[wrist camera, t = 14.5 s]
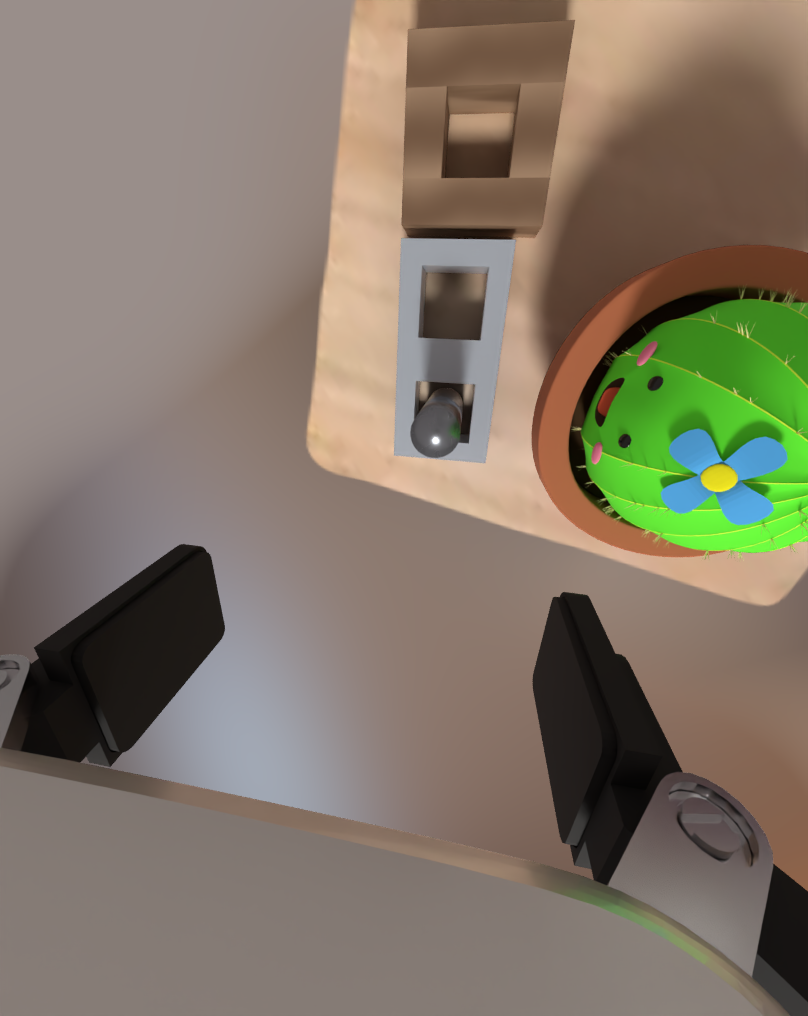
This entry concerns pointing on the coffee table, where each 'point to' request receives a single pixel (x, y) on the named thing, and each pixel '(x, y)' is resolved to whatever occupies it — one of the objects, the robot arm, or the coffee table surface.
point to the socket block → (473, 90)
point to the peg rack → (450, 355)
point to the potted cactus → (685, 408)
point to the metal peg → (438, 424)
